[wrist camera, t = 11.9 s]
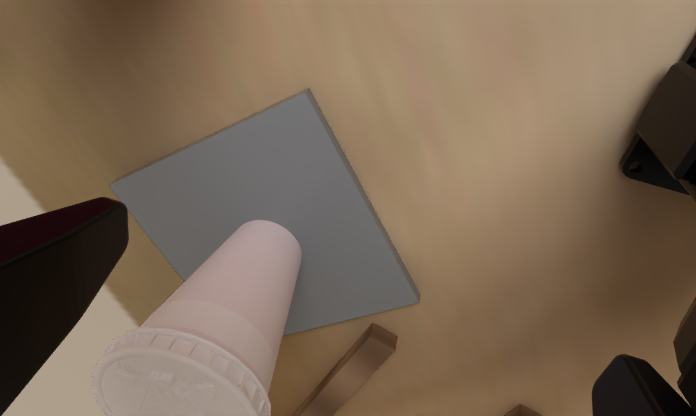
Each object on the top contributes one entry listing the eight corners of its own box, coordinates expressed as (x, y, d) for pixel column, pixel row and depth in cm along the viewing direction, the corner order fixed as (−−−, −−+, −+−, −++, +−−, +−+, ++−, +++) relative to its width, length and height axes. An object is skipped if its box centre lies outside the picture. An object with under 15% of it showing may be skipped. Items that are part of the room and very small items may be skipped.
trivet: (308, 87, 20) (305, 92, 20) (420, 294, 25) (419, 302, 25) (115, 179, 25) (108, 185, 25) (239, 340, 30) (235, 347, 29)
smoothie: (219, 291, 27) (36, 580, 15) (197, 191, 24) (-57, 464, 12) (330, 303, 26) (225, 627, 14) (324, 200, 23) (179, 513, 11)
